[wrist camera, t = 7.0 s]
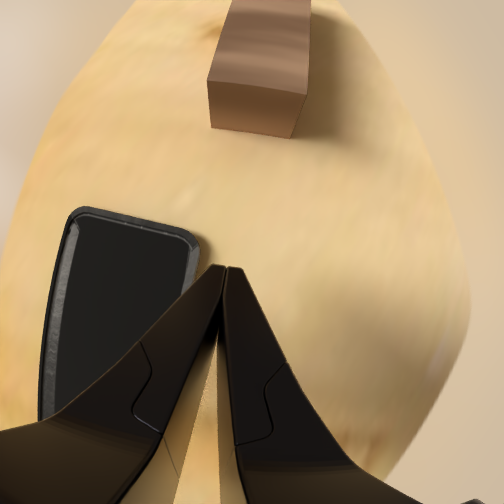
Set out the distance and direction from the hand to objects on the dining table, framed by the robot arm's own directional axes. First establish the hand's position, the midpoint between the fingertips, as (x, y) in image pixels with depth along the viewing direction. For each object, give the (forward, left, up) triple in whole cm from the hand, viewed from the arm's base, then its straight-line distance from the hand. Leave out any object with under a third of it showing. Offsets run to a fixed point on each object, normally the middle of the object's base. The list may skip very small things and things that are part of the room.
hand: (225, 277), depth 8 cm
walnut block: (+9, 0, -5) cm, 10 cm away
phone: (-5, +6, -8) cm, 11 cm away
